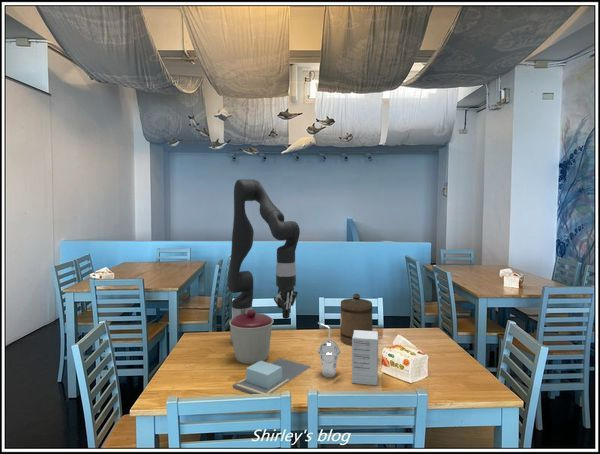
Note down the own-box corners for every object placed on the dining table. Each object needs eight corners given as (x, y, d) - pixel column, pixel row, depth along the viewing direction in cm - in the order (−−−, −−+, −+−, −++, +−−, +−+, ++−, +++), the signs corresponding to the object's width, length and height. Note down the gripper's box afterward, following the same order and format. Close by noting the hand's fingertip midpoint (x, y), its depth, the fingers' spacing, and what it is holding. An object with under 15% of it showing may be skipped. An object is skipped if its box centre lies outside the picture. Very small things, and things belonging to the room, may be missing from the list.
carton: (246, 381, 143) (246, 368, 143) (260, 373, 150) (260, 360, 149) (268, 389, 138) (267, 375, 137) (282, 380, 144) (281, 366, 144)
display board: (232, 387, 141) (232, 384, 141) (280, 360, 164) (280, 357, 164) (266, 399, 133) (266, 395, 132) (311, 369, 156) (311, 365, 156)
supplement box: (377, 386, 142) (378, 339, 141) (351, 383, 144) (351, 338, 142) (377, 374, 151) (378, 330, 150) (353, 372, 153) (353, 329, 152)
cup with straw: (324, 384, 143) (324, 329, 142) (313, 373, 152) (313, 322, 150) (344, 379, 147) (344, 326, 145) (332, 370, 155) (333, 319, 153)
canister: (227, 354, 170) (226, 306, 169) (268, 349, 176) (268, 302, 174) (233, 372, 153) (232, 318, 152) (278, 366, 159) (278, 314, 157)
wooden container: (354, 332, 197) (354, 288, 195) (378, 340, 186) (379, 294, 185) (333, 340, 187) (333, 293, 185) (358, 348, 176) (358, 299, 175)
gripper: (288, 269, 159) (288, 312, 161) (267, 275, 148) (267, 320, 150) (303, 271, 155) (303, 315, 157) (283, 277, 144) (283, 324, 146)
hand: (286, 318), depth 153 cm, fingers closed
